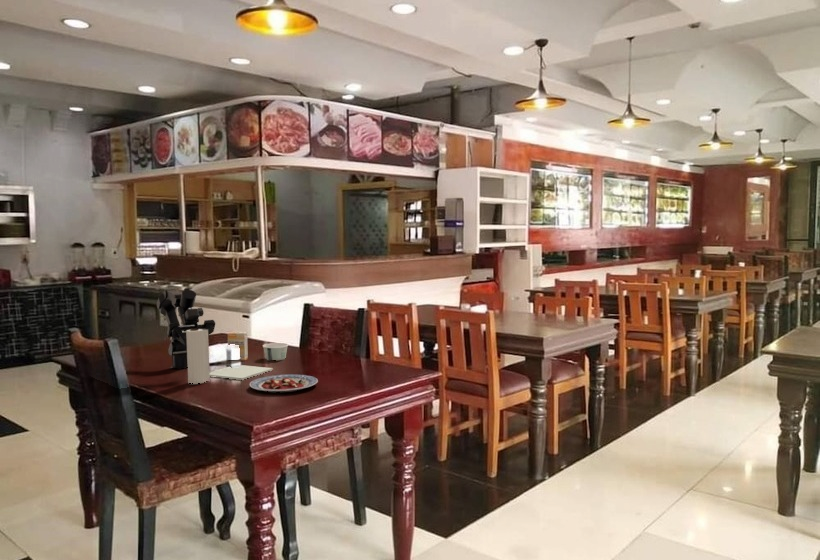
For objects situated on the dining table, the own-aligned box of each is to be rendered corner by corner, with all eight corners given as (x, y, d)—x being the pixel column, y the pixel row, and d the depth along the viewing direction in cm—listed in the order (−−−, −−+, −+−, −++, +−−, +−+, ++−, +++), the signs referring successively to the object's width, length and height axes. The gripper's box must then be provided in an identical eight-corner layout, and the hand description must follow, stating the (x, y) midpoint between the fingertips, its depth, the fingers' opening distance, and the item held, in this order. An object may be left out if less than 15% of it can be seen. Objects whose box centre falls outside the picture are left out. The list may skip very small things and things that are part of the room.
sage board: (204, 376, 257) (203, 373, 257) (236, 366, 275) (236, 364, 275) (242, 380, 249) (242, 378, 249) (272, 370, 267) (272, 368, 267)
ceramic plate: (250, 398, 222) (250, 390, 222) (248, 382, 246) (248, 375, 246) (322, 392, 229) (322, 384, 229) (313, 377, 254) (313, 370, 253)
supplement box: (227, 360, 289) (226, 333, 288) (231, 358, 294) (230, 331, 293) (245, 360, 289) (244, 333, 288) (248, 358, 293) (247, 331, 292)
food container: (283, 361, 286) (282, 347, 286) (258, 361, 288) (258, 347, 288) (292, 356, 298) (291, 343, 298) (268, 356, 300) (268, 342, 299)
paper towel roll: (184, 384, 244) (182, 330, 242) (194, 380, 249) (192, 328, 248) (200, 385, 242) (198, 331, 240) (209, 381, 247) (208, 328, 246)
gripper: (166, 303, 252) (176, 331, 242) (212, 300, 262) (222, 326, 253) (163, 323, 258) (172, 350, 249) (208, 319, 269) (218, 345, 260)
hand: (196, 342), depth 252 cm, fingers open, 9 cm apart
